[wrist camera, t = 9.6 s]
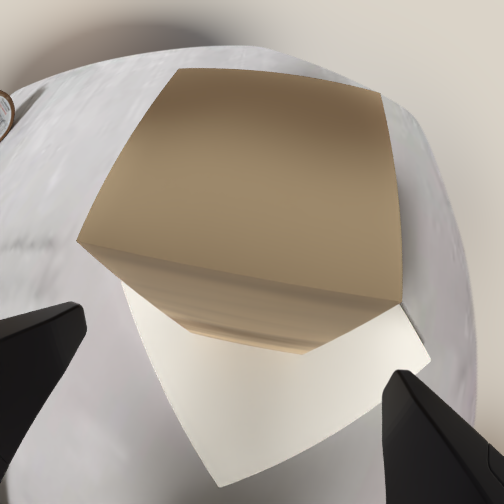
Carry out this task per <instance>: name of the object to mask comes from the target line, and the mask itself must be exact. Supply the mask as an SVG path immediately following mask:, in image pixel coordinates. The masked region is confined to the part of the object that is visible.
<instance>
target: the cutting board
mask: <svg viewBox="0 0 504 504" xmlns="http://www.w3.org/2000/svg"><path fill="white" fill-rule="evenodd" d="M120 281H121V284H122V287H123V290H124V293H125V296H126V299H127V302H128V305H129V308H130V310H131V313H132V316H133V319H134V321H135V324H136V327H137V329H138V332H139V335H140V337H141V340H142V342H143V345H144V347H145V350H146V352H147V354H148V357H149V359H150V361H151V364H152V366H153V368H154V371H155V373H156V375H157V377H158V379H159V382H160V384H161V386H162V388H163V390H164V392H165V394H166V396H167V398H168V400H169V402H170V404H171V406H172V408H173V410H174V412H175V414H176V416H177V418H178V420H179V422H180V424H181V426H182V427H183V429H184V431H185V433H186V435H187V437H188V438H189V440H190V442H191V444H192V445H193V447H194V449H195V450H196V452H197V454H198V456H199V457H200V459H201V460H202V462H203V464H204V465H205V467H206V469H207V470H208V472H209V473H210V475H211V476H212V478H213V479H214V481H215V483H216V484H217V485H218V487H219V488H221V487H224V486H226V485H229V484H232V483H235V482H237V481H240V480H242V479H245V478H247V477H250V476H252V475H255V474H257V473H259V472H262V471H264V470H266V469H268V468H271V467H273V466H275V465H277V464H279V463H281V462H283V461H285V460H287V459H289V458H291V457H293V456H295V455H297V454H299V453H301V452H303V451H305V450H307V449H309V448H310V447H312V446H314V445H316V444H318V443H319V442H321V441H323V440H325V439H326V438H328V437H330V436H331V435H333V434H335V433H336V432H338V431H339V430H341V429H343V428H344V427H346V426H347V425H349V424H350V423H352V422H353V421H355V420H356V419H358V418H359V417H361V416H362V415H364V414H365V413H367V412H368V411H369V410H371V409H372V408H374V407H375V406H376V405H378V404H379V403H381V402H382V393H383V390H384V388H385V386H386V385H387V383H388V381H389V379H390V377H391V376H392V374H393V372H394V371H395V370H397V369H401V370H409V371H411V372H412V373H413V374H414V375H416V374H417V373H418V372H419V371H420V370H421V369H422V368H424V367H425V366H426V365H427V364H428V363H429V362H430V361H431V359H430V357H429V355H428V353H427V351H426V349H425V347H424V346H423V344H422V342H421V340H420V338H419V337H418V335H417V333H416V331H415V330H414V328H413V326H412V324H411V323H410V321H409V319H408V317H407V316H406V314H405V312H404V311H403V309H402V307H401V306H400V304H398V305H396V306H394V307H393V308H391V309H389V310H388V311H386V312H384V313H382V314H381V315H379V316H377V317H375V318H374V319H372V320H370V321H368V322H366V323H365V324H363V325H361V326H359V327H357V328H355V329H353V330H351V331H350V332H348V333H346V334H344V335H342V336H340V337H338V338H336V339H334V340H332V341H330V342H328V343H326V344H324V345H322V346H320V347H318V348H316V349H313V350H311V351H309V352H307V353H305V354H303V355H300V354H294V353H288V352H281V351H276V350H270V349H264V348H259V347H254V346H248V345H243V344H238V343H233V342H229V341H224V340H219V339H215V338H211V337H206V336H202V335H198V334H194V333H190V332H189V331H188V330H186V329H185V328H183V327H182V326H181V325H179V324H178V323H176V322H175V321H174V320H172V319H171V318H169V317H168V316H167V315H165V314H164V313H163V312H161V311H160V310H159V309H157V308H156V307H155V306H153V305H152V304H151V303H149V302H148V301H147V300H146V299H144V298H143V297H142V296H140V295H139V294H138V293H137V292H135V291H134V290H133V289H132V288H130V287H129V286H128V285H127V284H125V283H124V282H123V281H122V280H121V279H120Z"/></svg>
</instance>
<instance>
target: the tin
mask: <svg viewBox="0 0 504 504" xmlns="http://www.w3.org/2000/svg"><path fill="white" fill-rule="evenodd" d="M14 115H15V108H14V103H13V101H12V99H11V97H10V96H9V95H8V94H7V93H5V92H3V91H1V90H0V142H1V141H2V140H3V138H4V137H5V136H6V135H7V133H8V132H9V130H10V128H11V126H12V124H13V120H14Z"/></svg>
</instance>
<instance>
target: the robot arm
mask: <svg viewBox="0 0 504 504" xmlns="http://www.w3.org/2000/svg"><path fill="white" fill-rule="evenodd" d="M86 332H87V325H86V320H85V315H84V310H83V307H82V306H81V305H80V304H77V303H75V302H66V303H62V304H58V305H55V306H51V307H47V308H43V309H40V310H36V311H32V312H28V313H25V314H21V315H17V316H13V317H10V318H6V319H2V320H0V483H1V481H2V479H3V477H4V475H5V473H6V471H7V469H8V467H9V464H10V462H11V460H12V459H13V457H14V455H15V453H16V451H17V449H18V447H19V446H20V444H21V442H22V440H23V438H24V437H25V435H26V433H27V431H28V430H29V428H30V426H31V425H32V423H33V421H34V420H35V418H36V416H37V415H38V413H39V411H40V410H41V408H42V407H43V405H44V403H45V402H46V400H47V399H48V397H49V395H50V394H51V392H52V391H53V389H54V388H55V386H56V385H57V383H58V382H59V380H60V379H61V377H62V376H63V374H64V372H65V371H66V369H67V367H68V366H69V364H70V362H71V360H72V358H73V356H74V355H75V353H76V351H77V349H78V347H79V346H80V344H81V342H82V340H83V338H84V337H85V335H86ZM382 446H383V458H384V470H385V485H386V504H504V456H502V455H501V454H500V453H499V452H498V451H497V450H496V449H495V448H494V447H493V446H492V445H491V444H488V442H487V441H486V440H485V439H484V438H483V437H482V436H481V435H480V434H479V433H478V432H477V431H476V430H475V429H474V428H472V427H471V426H470V425H469V424H468V423H467V422H466V421H465V420H464V419H463V418H462V417H461V416H459V415H458V414H457V413H456V412H455V411H454V410H453V409H452V408H451V407H450V406H449V405H447V404H446V403H445V402H444V401H443V400H442V399H441V398H440V397H439V396H438V395H436V394H435V393H434V392H433V391H432V390H431V389H430V388H429V387H428V386H426V385H425V384H424V383H423V382H422V381H421V380H420V379H419V378H418V377H416V376H415V375H414V374H413V373H412V372H411V371H409V370H401V369H397V370H395V371H394V372H393V374H392V376H391V377H390V379H389V381H388V383H387V385H386V386H385V388H384V390H383V393H382Z"/></svg>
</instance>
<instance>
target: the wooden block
mask: <svg viewBox="0 0 504 504" xmlns="http://www.w3.org/2000/svg"><path fill="white" fill-rule="evenodd" d="M76 241H77V242H78V243H79V244H80V245H81V246H82V247H83V248H84V249H86V250H87V251H88V252H89V253H90V254H91V255H92V256H93V257H95V258H96V259H97V260H98V261H99V262H100V263H102V264H103V265H104V266H105V267H106V268H107V269H109V270H110V271H111V272H112V273H113V274H114V275H116V276H117V277H118V278H119V279H121V280H122V281H123V282H124V283H125V284H127V285H128V286H129V287H130V288H132V289H133V290H134V291H135V292H137V293H138V294H139V295H140V296H142V297H143V298H144V299H146V300H147V301H148V302H149V303H151V304H152V305H153V306H155V307H156V308H157V309H159V310H160V311H161V312H163V313H164V314H165V315H167V316H168V317H169V318H171V319H172V320H174V321H175V322H176V323H178V324H179V325H181V326H182V327H183V328H185V329H186V330H188V331H189V332H190V333H194V334H198V335H202V336H206V337H211V338H215V339H219V340H224V341H229V342H233V343H238V344H243V345H248V346H254V347H259V348H264V349H270V350H276V351H281V352H288V353H294V354H300V355H303V354H305V353H307V352H309V351H311V350H313V349H316V348H318V347H320V346H322V345H324V344H326V343H328V342H330V341H332V340H334V339H336V338H338V337H340V336H342V335H344V334H346V333H348V332H350V331H351V330H353V329H355V328H357V327H359V326H361V325H363V324H365V323H366V322H368V321H370V320H372V319H374V318H375V317H377V316H379V315H381V314H382V313H384V312H386V311H388V310H389V309H391V308H393V307H394V306H396V305H398V304H399V303H401V302H402V239H401V223H400V210H399V199H398V190H397V181H396V174H395V167H394V160H393V154H392V148H391V142H390V136H389V131H388V126H387V121H386V116H385V112H384V107H383V103H382V99H381V95H380V93H378V92H374V91H370V90H367V89H363V88H359V87H355V86H350V85H346V84H342V83H337V82H332V81H327V80H322V79H316V78H311V77H304V76H298V75H291V74H283V73H275V72H265V71H254V70H240V69H216V68H186V69H178V70H177V72H176V73H175V74H174V75H173V77H172V78H171V79H170V81H169V82H168V83H167V85H166V86H165V87H164V88H163V90H162V91H161V93H160V94H159V95H158V97H157V98H156V99H155V101H154V102H153V104H152V105H151V106H150V108H149V109H148V111H147V112H146V114H145V115H144V117H143V118H142V120H141V121H140V123H139V124H138V126H137V127H136V129H135V130H134V132H133V133H132V135H131V137H130V138H129V140H128V141H127V143H126V145H125V146H124V148H123V150H122V151H121V153H120V155H119V156H118V158H117V160H116V161H115V163H114V165H113V167H112V169H111V170H110V172H109V174H108V176H107V178H106V180H105V181H104V183H103V185H102V187H101V189H100V191H99V193H98V195H97V197H96V199H95V201H94V203H93V205H92V207H91V209H90V211H89V213H88V215H87V218H86V220H85V222H84V224H83V226H82V229H81V231H80V233H79V236H78V238H77V240H76Z"/></svg>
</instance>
